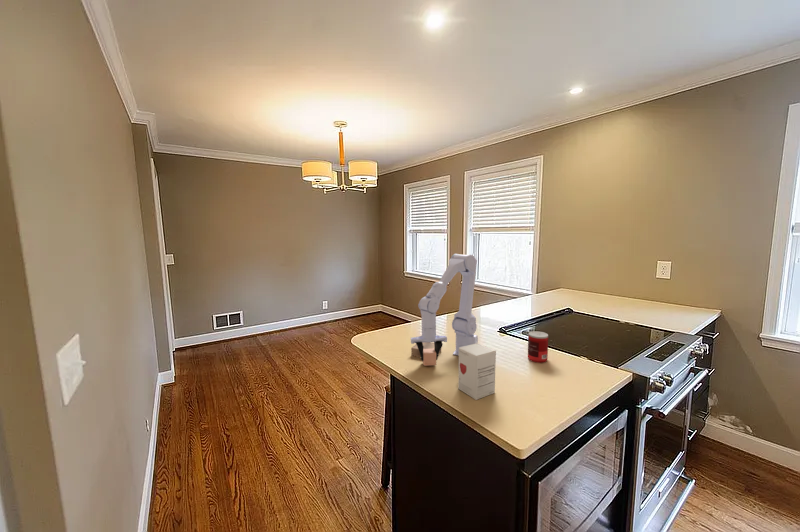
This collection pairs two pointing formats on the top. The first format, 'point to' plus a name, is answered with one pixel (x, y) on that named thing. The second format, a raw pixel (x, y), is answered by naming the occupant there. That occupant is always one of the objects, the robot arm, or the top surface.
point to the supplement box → (477, 370)
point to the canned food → (537, 346)
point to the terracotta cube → (429, 357)
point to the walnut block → (426, 346)
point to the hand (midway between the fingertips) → (429, 359)
